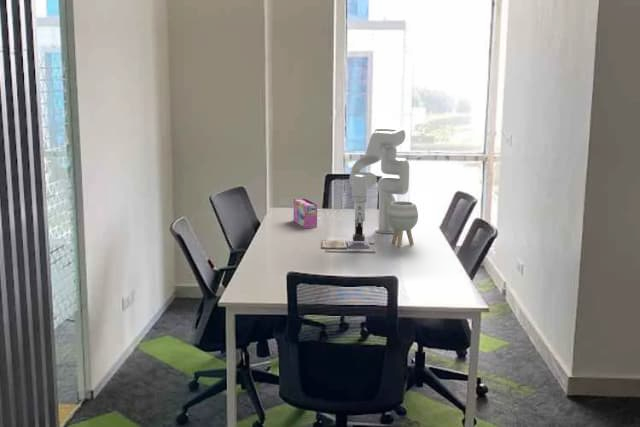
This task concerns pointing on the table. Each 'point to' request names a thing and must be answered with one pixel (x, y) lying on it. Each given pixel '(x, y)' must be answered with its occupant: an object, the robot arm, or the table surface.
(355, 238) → the stamp
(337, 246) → the marked board
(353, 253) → the table surface
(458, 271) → the table surface
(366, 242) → the ink pad
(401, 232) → the planter
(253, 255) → the table surface
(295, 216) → the gum box
